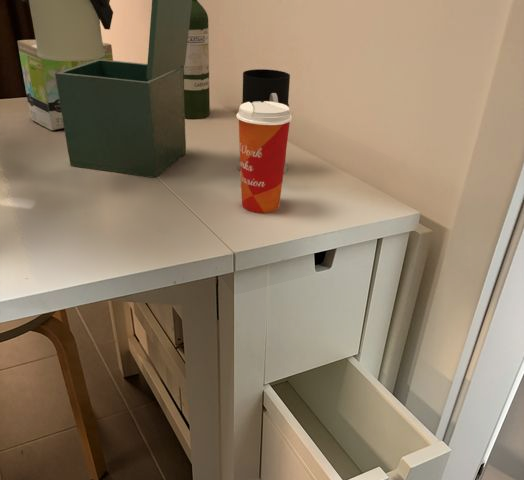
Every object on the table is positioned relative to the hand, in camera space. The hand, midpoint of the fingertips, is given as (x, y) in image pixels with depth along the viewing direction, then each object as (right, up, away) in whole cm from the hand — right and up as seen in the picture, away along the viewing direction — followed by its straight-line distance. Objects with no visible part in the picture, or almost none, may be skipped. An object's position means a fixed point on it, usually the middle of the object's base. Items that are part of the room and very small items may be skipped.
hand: (76, 18), depth 78 cm
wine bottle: (+11, +5, +45) cm, 46 cm away
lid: (+13, +3, +4) cm, 13 cm away
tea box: (-12, 0, +37) cm, 39 cm away
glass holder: (+27, -17, +16) cm, 36 cm away
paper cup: (+26, -26, +5) cm, 37 cm away
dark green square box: (+3, -14, +19) cm, 23 cm away
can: (-1, -5, 0) cm, 5 cm away
